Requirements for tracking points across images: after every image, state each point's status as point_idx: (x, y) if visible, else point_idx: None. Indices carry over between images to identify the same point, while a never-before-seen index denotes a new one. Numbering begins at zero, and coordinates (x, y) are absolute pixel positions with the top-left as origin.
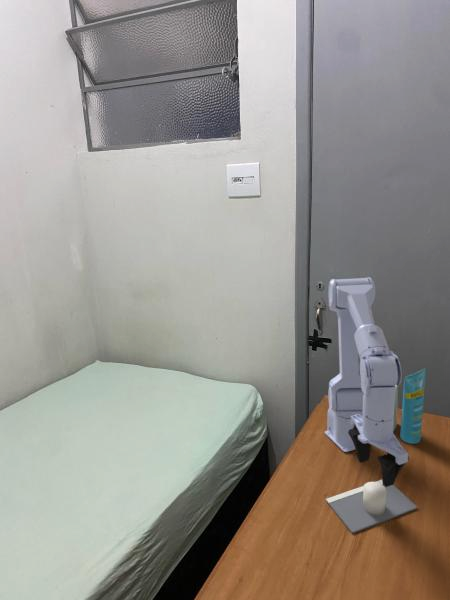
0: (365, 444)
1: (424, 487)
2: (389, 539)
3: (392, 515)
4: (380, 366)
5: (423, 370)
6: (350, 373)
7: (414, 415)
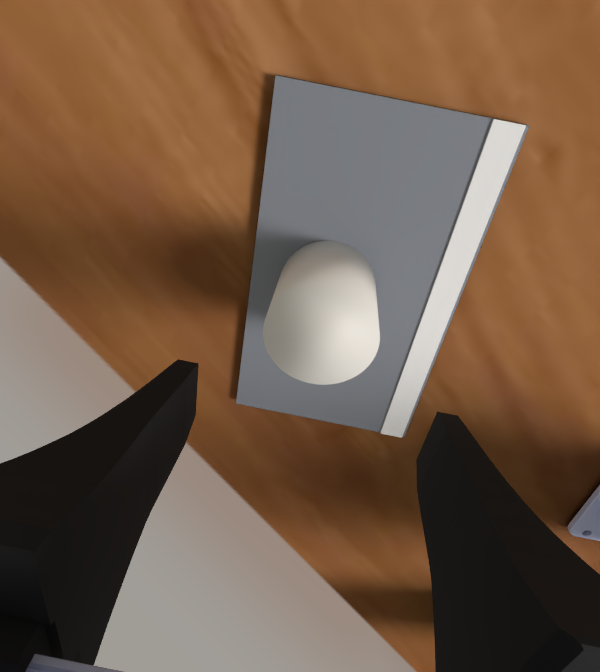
0: (455, 572)
1: (293, 482)
2: (174, 204)
3: (252, 308)
4: None
5: None
6: None
7: None
